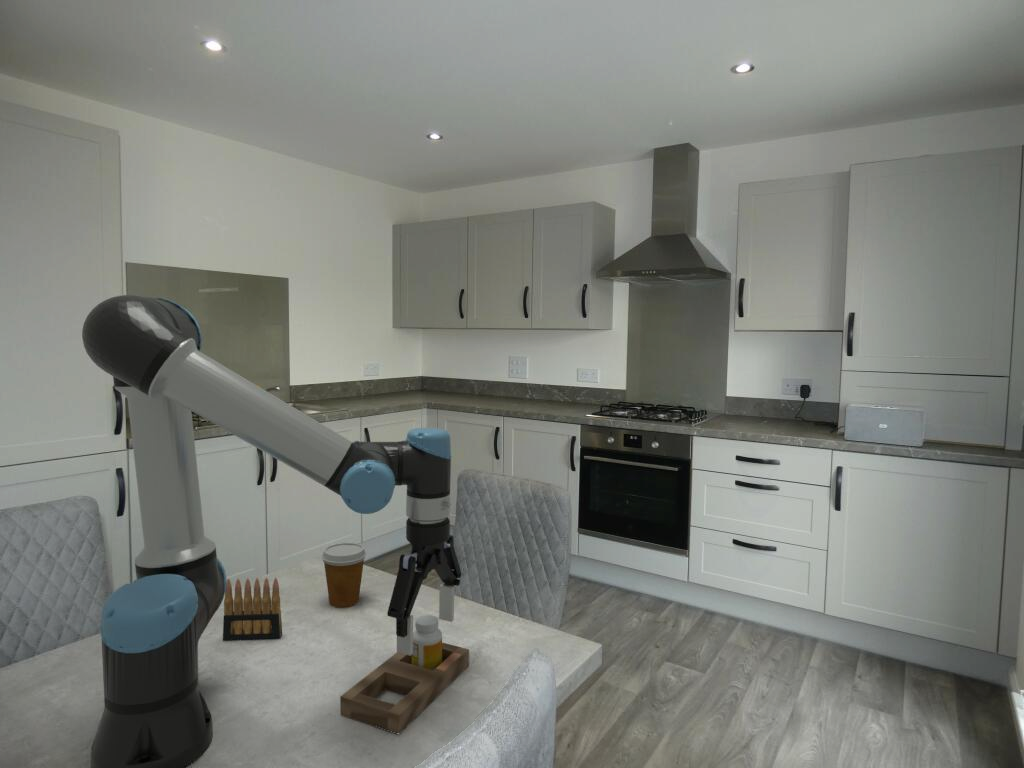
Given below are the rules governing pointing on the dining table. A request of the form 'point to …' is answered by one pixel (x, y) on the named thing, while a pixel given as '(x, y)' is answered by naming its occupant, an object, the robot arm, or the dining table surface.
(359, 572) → the disposable coffee cup
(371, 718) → the rack
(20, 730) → the dining table surface
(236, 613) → the ammunition clip
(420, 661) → the supplement bottle
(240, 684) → the dining table surface
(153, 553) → the robot arm
